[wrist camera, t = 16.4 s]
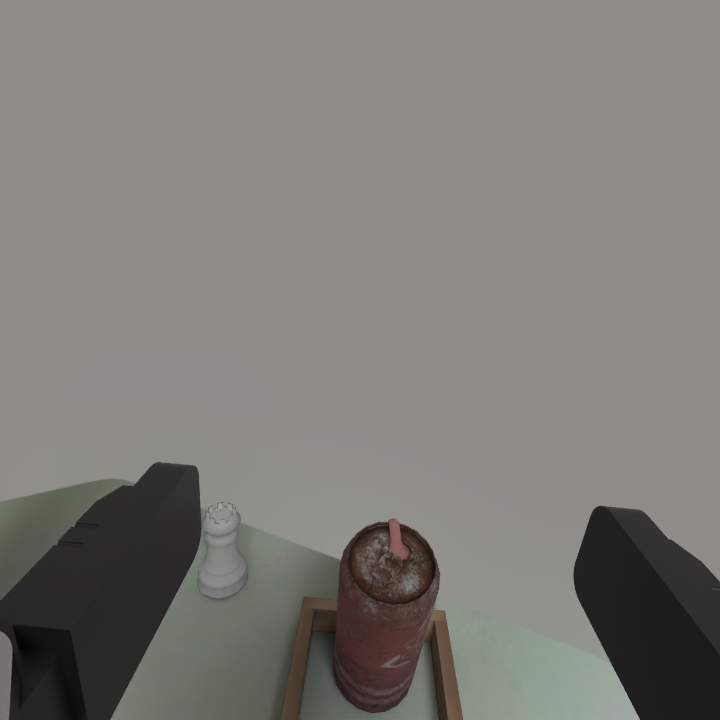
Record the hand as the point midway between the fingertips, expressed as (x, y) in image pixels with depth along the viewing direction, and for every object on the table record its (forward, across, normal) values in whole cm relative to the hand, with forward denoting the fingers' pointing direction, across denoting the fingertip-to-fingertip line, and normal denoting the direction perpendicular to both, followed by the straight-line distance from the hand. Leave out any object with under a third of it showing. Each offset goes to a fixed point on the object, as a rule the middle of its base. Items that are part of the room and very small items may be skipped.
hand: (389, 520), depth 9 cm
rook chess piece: (+23, +12, +28) cm, 38 cm away
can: (+16, -2, +28) cm, 32 cm away
